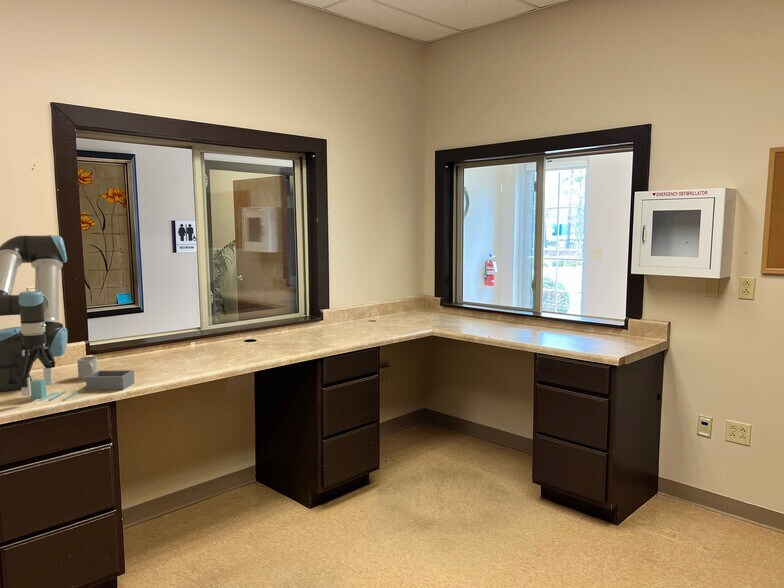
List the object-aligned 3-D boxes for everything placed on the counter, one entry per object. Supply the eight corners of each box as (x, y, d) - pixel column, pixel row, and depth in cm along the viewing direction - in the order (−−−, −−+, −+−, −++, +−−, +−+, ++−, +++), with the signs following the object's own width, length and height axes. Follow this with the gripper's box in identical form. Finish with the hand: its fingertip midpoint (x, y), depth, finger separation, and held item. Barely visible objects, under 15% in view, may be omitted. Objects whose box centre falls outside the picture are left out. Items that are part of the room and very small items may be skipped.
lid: (24, 403, 203) (22, 384, 203) (42, 394, 214) (40, 376, 213) (77, 403, 204) (76, 384, 203) (92, 394, 215) (91, 376, 214)
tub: (86, 392, 217) (85, 377, 216) (99, 385, 227) (98, 370, 226) (123, 392, 217) (122, 376, 217) (134, 384, 227) (133, 370, 227)
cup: (95, 376, 241) (94, 355, 240) (102, 380, 234) (101, 359, 233) (76, 379, 236) (75, 358, 235) (83, 384, 229) (81, 362, 228)
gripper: (22, 340, 194) (27, 400, 196) (63, 327, 218) (66, 380, 221) (0, 340, 193) (5, 400, 196) (43, 327, 218) (47, 381, 221)
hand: (38, 390), depth 208 cm, fingers open, 13 cm apart
